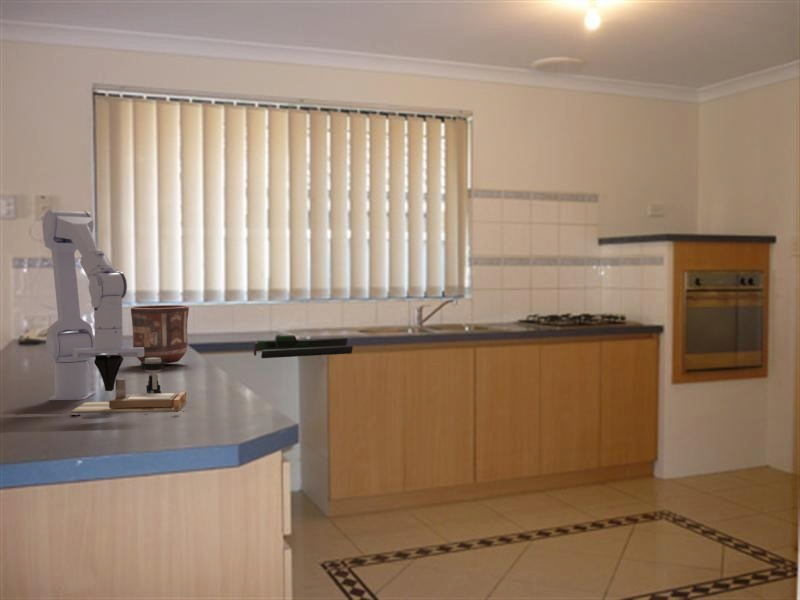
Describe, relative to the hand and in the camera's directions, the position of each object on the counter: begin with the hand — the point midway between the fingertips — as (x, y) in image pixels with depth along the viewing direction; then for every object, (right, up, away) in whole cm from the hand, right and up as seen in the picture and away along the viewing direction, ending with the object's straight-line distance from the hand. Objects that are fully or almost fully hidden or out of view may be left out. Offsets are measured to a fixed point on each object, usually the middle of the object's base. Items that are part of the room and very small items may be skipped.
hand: (109, 390), depth 171 cm
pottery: (-15, -1, +85) cm, 86 cm away
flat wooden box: (+4, -4, +1) cm, 6 cm away
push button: (+6, -4, +12) cm, 14 cm away
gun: (+30, -1, +103) cm, 107 cm away
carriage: (+7, -3, +1) cm, 8 cm away
